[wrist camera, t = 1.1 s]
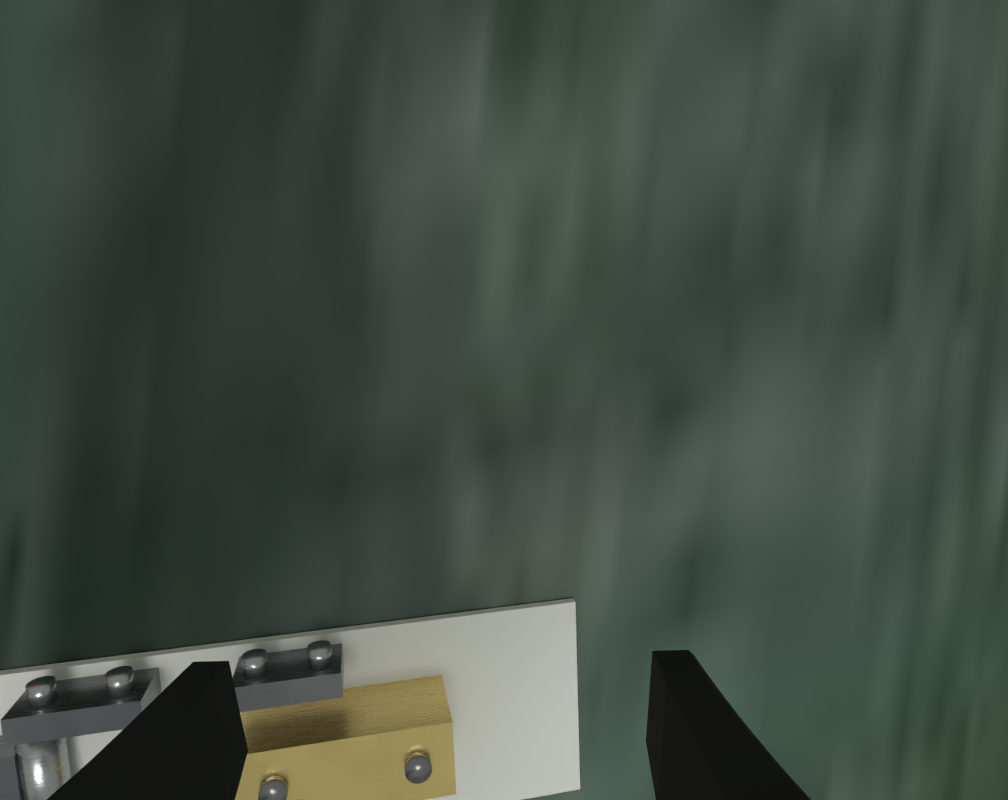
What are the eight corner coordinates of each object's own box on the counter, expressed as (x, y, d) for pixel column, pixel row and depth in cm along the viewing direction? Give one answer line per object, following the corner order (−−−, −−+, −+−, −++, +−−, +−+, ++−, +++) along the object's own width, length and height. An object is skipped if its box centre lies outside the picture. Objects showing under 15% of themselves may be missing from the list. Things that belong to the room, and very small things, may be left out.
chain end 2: (354, 812, 30) (354, 855, 28) (256, 830, 30) (248, 875, 27) (340, 627, 29) (339, 655, 27) (237, 639, 28) (227, 670, 26)
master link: (445, 739, 31) (458, 801, 27) (250, 770, 29) (235, 841, 25) (441, 674, 30) (454, 728, 26) (243, 702, 29) (227, 764, 25)
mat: (577, 783, 33) (580, 789, 32) (22, 883, 28) (17, 891, 28) (572, 598, 31) (575, 601, 31) (-11, 671, 27) (-16, 677, 27)
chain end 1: (179, 843, 29) (163, 891, 27) (19, 872, 28) (-12, 925, 25) (156, 650, 28) (138, 682, 25) (-12, 671, 27) (-47, 707, 24)
